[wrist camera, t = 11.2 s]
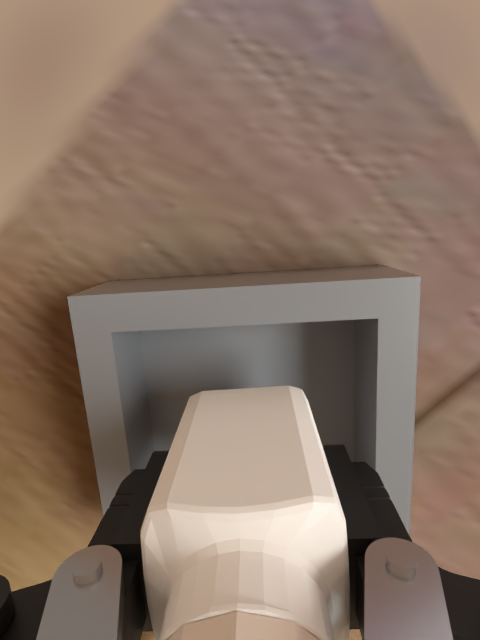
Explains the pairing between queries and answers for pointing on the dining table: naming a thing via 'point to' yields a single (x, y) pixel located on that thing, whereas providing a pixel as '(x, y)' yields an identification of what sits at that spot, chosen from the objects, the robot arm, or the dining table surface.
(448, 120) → the dining table surface
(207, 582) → the salt shaker
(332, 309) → the caddy
